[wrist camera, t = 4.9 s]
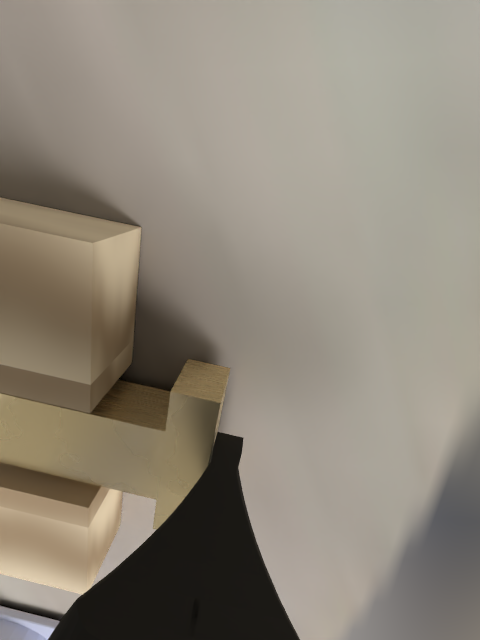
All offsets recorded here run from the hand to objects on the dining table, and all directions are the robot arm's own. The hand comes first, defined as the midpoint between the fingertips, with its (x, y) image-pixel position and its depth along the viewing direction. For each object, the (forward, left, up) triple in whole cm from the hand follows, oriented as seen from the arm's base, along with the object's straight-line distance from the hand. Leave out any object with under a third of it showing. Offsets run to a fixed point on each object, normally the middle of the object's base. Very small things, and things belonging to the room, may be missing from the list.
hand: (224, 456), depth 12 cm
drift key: (0, +4, -1) cm, 4 cm away
